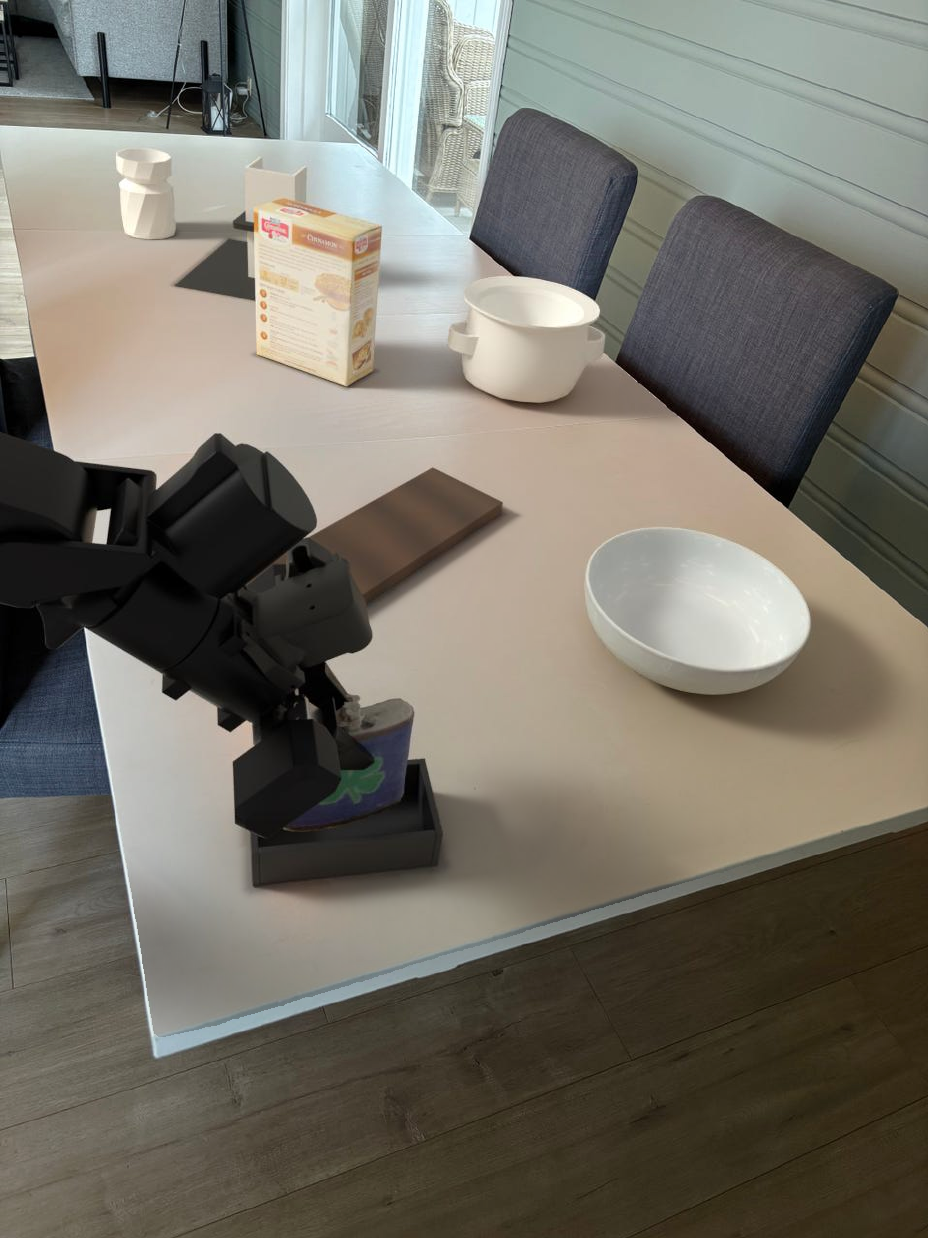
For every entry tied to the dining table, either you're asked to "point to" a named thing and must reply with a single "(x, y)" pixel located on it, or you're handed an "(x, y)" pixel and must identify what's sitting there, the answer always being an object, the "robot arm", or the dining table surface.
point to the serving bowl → (694, 610)
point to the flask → (380, 783)
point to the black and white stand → (236, 259)
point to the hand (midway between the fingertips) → (366, 745)
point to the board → (405, 529)
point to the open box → (357, 841)
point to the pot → (526, 337)
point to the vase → (146, 193)
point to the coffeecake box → (316, 289)
